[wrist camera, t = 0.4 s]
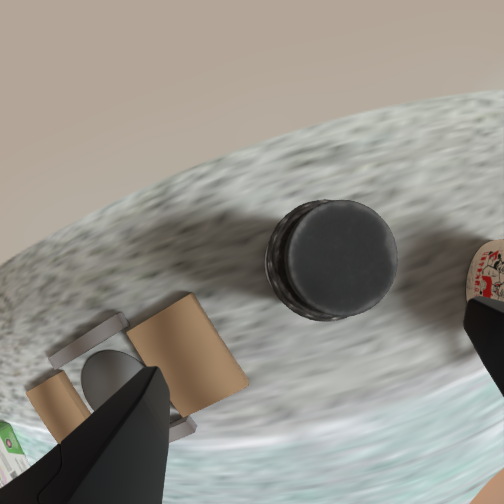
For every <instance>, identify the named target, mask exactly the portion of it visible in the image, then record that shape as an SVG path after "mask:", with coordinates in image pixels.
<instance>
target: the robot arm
mask: <svg viewBox="0 0 504 504" xmlns="http://www.w3.org/2000/svg"><path fill="white" fill-rule="evenodd" d="M463 325H464V329H465V331H466V333H467V335H468V336H469V338H470V340H471V342H472V344H473V345H474V347H475V349H476V351H477V353H478V355H479V357H480V359H481V360H482V362H483V364H484V366H485V367H486V369H487V371H488V372H489V374H490V375H491V377H492V379H493V380H494V382H495V383H496V385H497V387H498V388H499V390H500V392H501V393H502V395H503V397H504V301H500V300H496V299H492V298H488V297H484V296H476V297H473V298H470V299H469V300H468V302H467V306H466V311H465V316H464V321H463ZM169 423H170V390H169V387H168V385H167V383H166V380H165V378H164V376H163V374H162V372H161V370H160V368H159V367H158V366H147V367H143V368H142V369H141V370H140V371H138V372H137V373H136V374H135V375H134V376H133V377H132V378H131V379H130V380H129V381H127V382H126V383H125V384H124V385H123V386H122V387H121V388H120V389H119V390H118V391H116V392H115V393H114V394H113V395H112V396H111V397H110V398H109V399H108V400H107V401H105V402H104V403H103V404H102V405H101V406H100V407H99V408H98V409H97V410H95V411H94V412H93V413H92V414H91V415H90V416H89V417H88V418H87V419H85V420H84V421H83V422H82V423H81V424H80V425H79V426H78V427H76V428H75V429H74V430H73V431H72V432H71V433H70V434H69V435H67V436H66V437H65V438H64V439H63V440H62V441H61V442H60V444H57V445H56V446H55V447H54V448H53V449H52V450H50V451H49V452H48V453H47V454H46V455H45V456H43V457H42V458H41V459H40V460H39V461H37V462H36V463H35V464H34V465H32V466H31V467H30V468H28V469H27V470H25V471H24V472H23V473H21V474H20V475H19V476H17V477H16V478H14V479H13V480H11V481H10V482H9V483H7V484H6V485H4V486H3V487H1V488H0V504H162V498H163V488H164V480H165V471H166V463H167V456H168V448H169Z"/></svg>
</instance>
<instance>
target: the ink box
mask: <svg viewBox="0 0 504 504" xmlns="http://www.w3.org/2000/svg"><path fill="white" fill-rule="evenodd" d="M28 468H30V465H29V463H28V461H27V459H26V457H25V455H24V453H23V451H22V449H21V447H20V445H19V443H18V441H17V439H16V437H15V434H14V432H13V430H12V428H11V426H10V425H9V424H7V423H2V422H0V488H1V487H3V486H4V485H6V484H7V483H9V482H10V481H11V480H13V479H14V478H16V477H17V476H19V475H20V474H21V473H23V472H24V471H25V470H27V469H28Z"/></svg>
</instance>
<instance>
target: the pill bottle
mask: <svg viewBox="0 0 504 504" xmlns="http://www.w3.org/2000/svg"><path fill="white" fill-rule="evenodd" d="M397 262H398V259H397V247H396V243H395V239H394V237H393V234H392V232H391V230H390V228H389V227H388V225H387V224H386V222H385V221H384V220H383V219H382V218H381V216H379V215H378V213H376V212H375V211H374V210H372V209H371V208H369V207H367V206H365V205H363V204H361V203H358V202H354V201H350V200H325V199H324V200H317V201H312V202H308V203H305V204H302V205H300V206H298V207H297V208H295V209H294V210H292V211H291V212H290V213H288V214H287V215H286V216H285V217H284V218H283V219H282V220H281V222H279V223H278V224H277V226H276V227H275V230H274V232H273V234H272V236H271V238H270V241H269V244H268V247H267V249H266V252H265V258H264V266H265V273H266V277H267V280H268V282H269V284H270V285H271V287H272V288H273V290H274V292H275V293H276V294H277V296H278V297H279V299H280V300H281V301H282V302H283V303H284V304H285V305H286V306H287V307H288V308H289V309H291V310H292V311H293V312H295V313H297V314H298V315H300V316H303V317H305V318H308V319H310V320H315V321H335V320H341V319H344V318H347V317H349V316H354V315H357V314H360V313H363V312H365V311H367V310H369V309H371V308H372V307H373V306H375V305H376V304H377V303H379V302H380V301H381V299H382V298H383V297H384V296H385V295H386V293H387V292H388V291H389V289H390V287H391V285H392V283H393V280H394V277H395V274H396V270H397Z"/></svg>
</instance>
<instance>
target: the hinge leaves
mask: <svg viewBox="0 0 504 504" xmlns="http://www.w3.org/2000/svg"><path fill="white" fill-rule="evenodd" d="M127 326H129V323H128V322H127V320H126V318H125V316H124V315H123V313H122V312H121V313H118V314H115V315H114V316H112V317H111V318H109V319H108V320H106V321H104V322H103V323H101V324H100V325H98V326H97V327H95V328H94V329H92V330H91V331H89V332H87V333H86V334H84V335H83V336H81V337H80V338H78V339H77V340H75V341H74V342H72V343H71V344H69V345H68V346H66V347H65V348H63V349H61V350H60V351H58V352H57V353H55V354H54V355H52V356H51V357H49V358H48V359H49V361H50V363H51V365H52V366H53V368H54V370H56V369H58V368H60V367H62V366H64V365H65V364H67V363H69V362H70V361H72V360H74V359H75V358H77V357H78V356H80V355H82V354H83V353H85V352H87V351H88V350H90V349H92V348H93V347H95V346H96V345H98V344H100V343H101V342H103V341H105V340H106V339H108V338H110V337H111V336H113V335H114V334H116V333H118V332H119V331H121V330H123V329H124V328H126V327H127ZM126 333H127V335H128V336H129V338H130V340H131V341H132V343H133V345H134V346H135V348H136V350H137V351H138V353H139V354H140V356H141V358H142V359H143V361H144V362H145V364H146V366H158V367H159V368H160V370H161V372H162V374H163V376H164V378H165V380H166V383H167V385H168V387H169V390H170V401H171V402H172V404H173V405H174V406H175V408H176V409H177V410H178V412H179V413H180V414H181V416H182V417H183V418H181V419H179V420H177V421H174V422H172V423H170V424H169V443H170V442H173V441H175V440H178V439H180V438H183V437H185V436H188V435H190V434H192V433H195V430H196V427H197V425H196V424H195V422H194V421H193V420H192V419H191V417H190V416H189V415H190V414H192V413H195V412H197V411H199V410H201V409H203V408H205V407H207V406H209V405H212V404H214V403H216V402H218V401H220V400H222V399H224V398H226V397H228V396H230V395H232V394H234V393H236V392H238V391H240V390H242V389H243V388H245V387H247V386H249V380H248V378H247V377H246V375H245V374H244V372H243V371H242V369H241V368H240V366H239V365H238V363H237V362H236V360H235V359H234V357H233V356H232V354H231V353H230V351H229V350H228V348H227V346H226V345H225V343H224V342H223V340H222V339H221V337H220V336H219V334H218V332H217V331H216V329H215V328H214V326H213V324H212V323H211V321H210V320H209V318H208V316H207V315H206V313H205V312H204V310H203V308H202V307H201V305H200V303H199V302H198V300H197V298H196V297H195V295H194V293H191V294H189V295H187V296H186V297H184V298H182V299H181V300H179V301H177V302H176V303H174V304H172V305H171V306H169V307H167V308H166V309H164V310H162V311H161V312H159V313H157V314H156V315H154V316H153V317H151V318H149V319H148V320H146V321H144V322H143V323H141V324H139V325H138V326H136V327H134V328H133V329H131V330H129V331H128V332H126ZM143 367H145V366H144V365H143V364H141V363H140V362H139V361H138V360H136V359H135V358H133V357H132V356H130V355H128V354H125V353H122V352H119V351H110V350H109V351H103V352H99V353H97V354H95V355H94V356H92V357H91V358H90V359H89V360H88V361H87V363H86V364H85V366H84V369H83V372H82V387H83V391H84V394H85V397H86V399H87V401H88V403H89V405H90V406H91V408H92V409H93V410H94V411H95V410H97V409H98V408H99V407H100V406H101V405H102V404H103V403H104V402H105V401H107V400H108V399H109V398H110V397H111V396H112V395H113V394H114V393H115V392H116V391H118V390H119V389H120V388H121V387H122V386H123V385H124V384H125V383H126V382H127V381H129V380H130V379H131V378H132V377H133V376H134V375H135V374H136V373H137V372H138V371H140V370H141V369H142V368H143ZM26 395H27V397H28V398H29V400H30V402H31V403H32V405H33V407H34V408H35V410H36V412H37V413H38V415H39V416H40V418H41V419H42V421H43V422H44V424H45V425H46V427H47V428H48V430H49V431H50V433H51V434H52V436H53V437H54V438H55V440H56V441H57V443H58V444H60V442H61V441H62V440H63V439H64V438H65V437H66V436H67V435H69V434H70V433H71V432H72V431H73V430H74V429H75V428H76V427H78V426H79V425H80V424H81V423H82V422H83V421H84V420H85V419H87V418H88V417H89V416H90V415H91V413H90V411H89V410H88V408H87V407H86V406H85V404H84V402H83V401H82V399H81V398H80V396H79V395H78V393H77V392H76V390H75V388H74V387H73V385H72V384H71V382H70V380H69V379H68V377H67V375H66V373H65V372H64V371H62V372H60V373H58V374H56V375H55V376H53V377H51V378H50V379H48V380H46V381H45V382H43V383H41V384H40V385H38V386H36V387H35V388H33V389H31V390H30V391H28V392H26Z"/></svg>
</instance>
